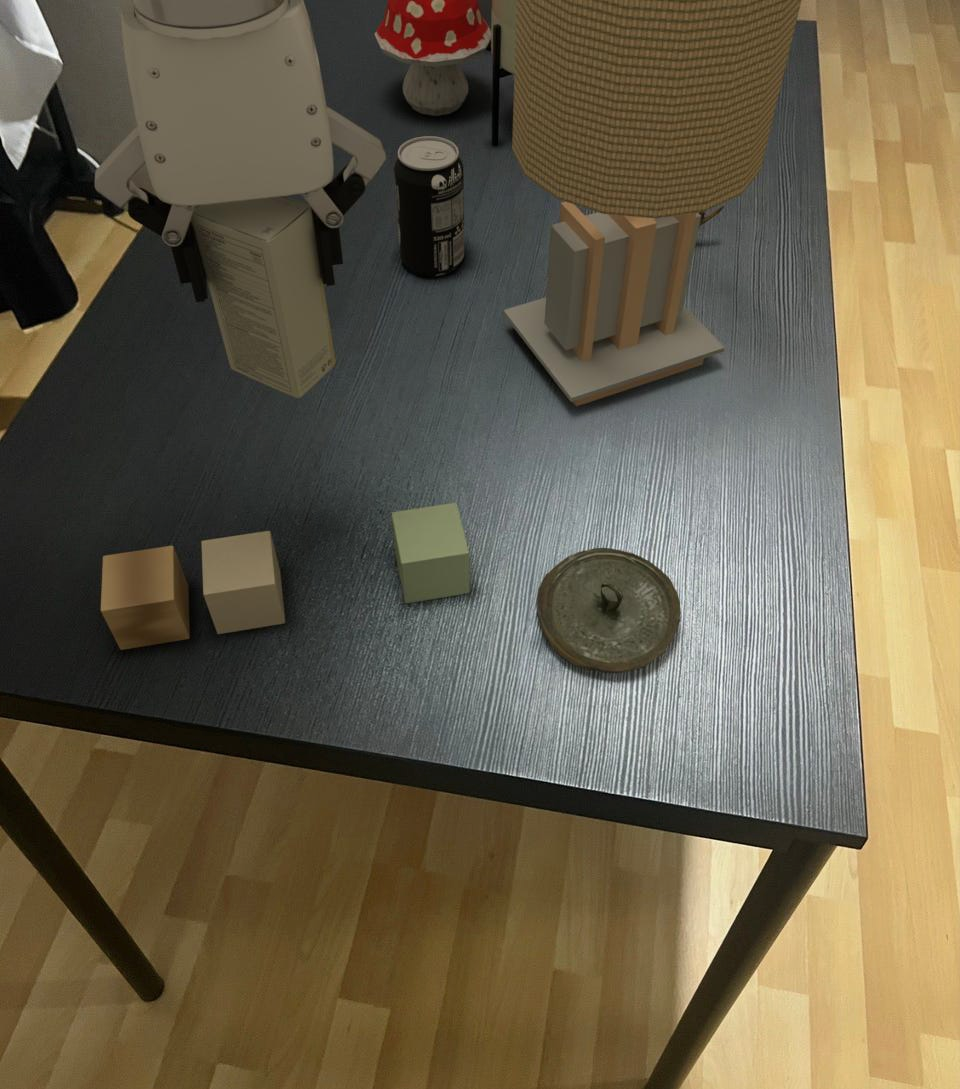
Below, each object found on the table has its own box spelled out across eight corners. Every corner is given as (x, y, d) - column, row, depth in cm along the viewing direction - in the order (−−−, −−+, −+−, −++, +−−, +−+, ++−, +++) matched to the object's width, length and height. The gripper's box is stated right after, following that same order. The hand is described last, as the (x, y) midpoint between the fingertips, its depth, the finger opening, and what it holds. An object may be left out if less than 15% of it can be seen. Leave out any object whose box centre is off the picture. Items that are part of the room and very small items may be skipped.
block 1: (120, 650, 73) (100, 611, 69) (121, 596, 76) (102, 555, 72) (189, 639, 73) (174, 599, 69) (188, 585, 76) (173, 544, 72)
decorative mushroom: (358, 114, 122) (345, -17, 110) (417, 67, 129) (411, -61, 118) (456, 143, 117) (454, 10, 106) (511, 92, 125) (515, -37, 113)
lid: (658, 578, 79) (660, 527, 76) (697, 664, 71) (701, 610, 68) (527, 598, 78) (524, 547, 75) (552, 686, 70) (549, 634, 67)
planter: (584, 178, 113) (605, -44, 95) (466, 139, 118) (464, -78, 100) (643, 120, 121) (672, -94, 103) (529, 86, 126) (539, -123, 108)
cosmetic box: (338, 365, 68) (318, 206, 59) (297, 403, 66) (269, 243, 56) (265, 334, 70) (235, 174, 61) (223, 369, 68) (185, 209, 58)
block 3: (405, 604, 75) (401, 563, 71) (395, 553, 78) (391, 511, 75) (469, 593, 76) (469, 552, 72) (457, 543, 79) (456, 502, 75)
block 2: (217, 634, 74) (203, 594, 70) (215, 581, 77) (201, 540, 73) (285, 623, 74) (275, 583, 70) (280, 571, 77) (270, 530, 73)
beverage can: (403, 241, 105) (396, 132, 96) (465, 242, 105) (464, 134, 95) (398, 279, 101) (390, 170, 91) (462, 280, 101) (461, 171, 91)
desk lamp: (567, 446, 86) (610, 23, 59) (471, 316, 97) (470, -91, 70) (755, 382, 91) (875, -34, 64) (644, 265, 102) (706, -131, 75)
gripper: (372, -67, 52) (392, 230, 66) (25, -41, 50) (121, 262, 63) (396, -7, 47) (412, 299, 61) (15, 24, 45) (121, 337, 59)
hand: (264, 279), depth 62 cm, fingers closed on cosmetic box, 7 cm apart
